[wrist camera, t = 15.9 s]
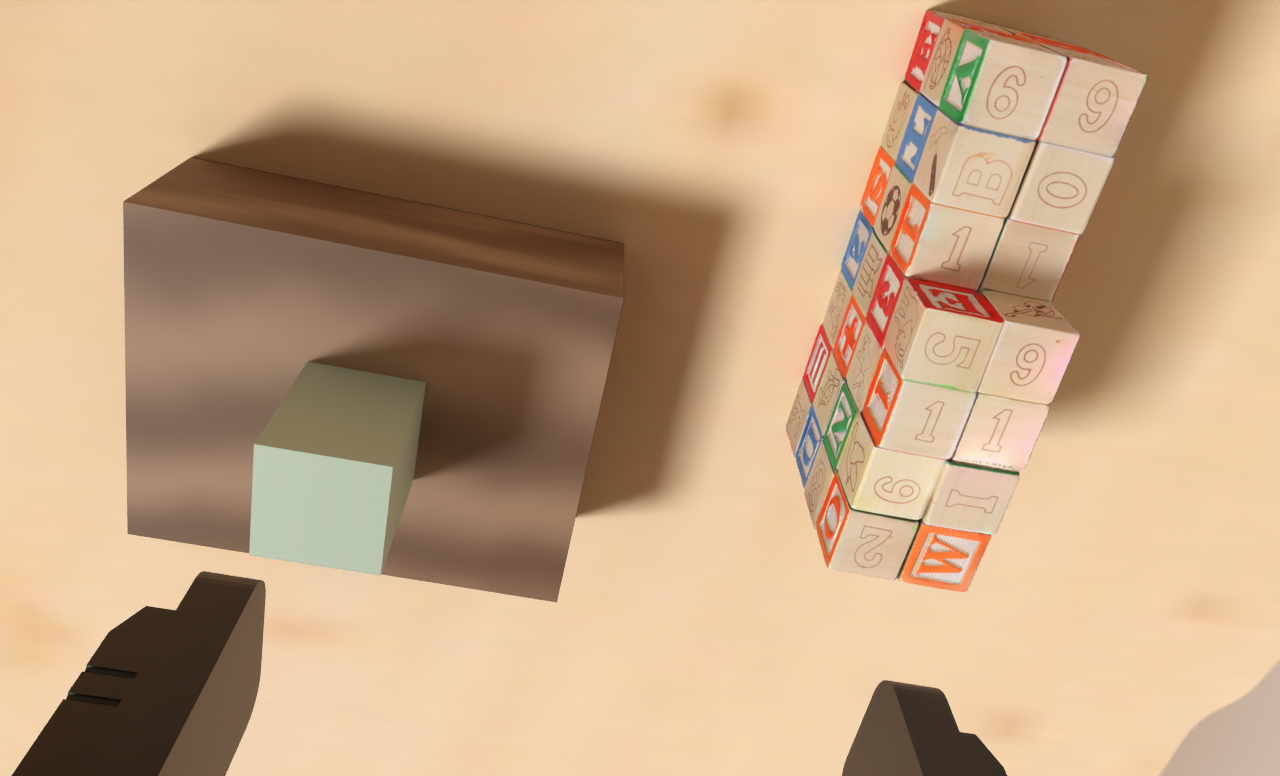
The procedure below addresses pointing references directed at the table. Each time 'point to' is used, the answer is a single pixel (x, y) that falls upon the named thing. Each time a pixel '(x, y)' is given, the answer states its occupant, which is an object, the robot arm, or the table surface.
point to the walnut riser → (366, 360)
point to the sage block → (335, 468)
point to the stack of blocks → (954, 298)
